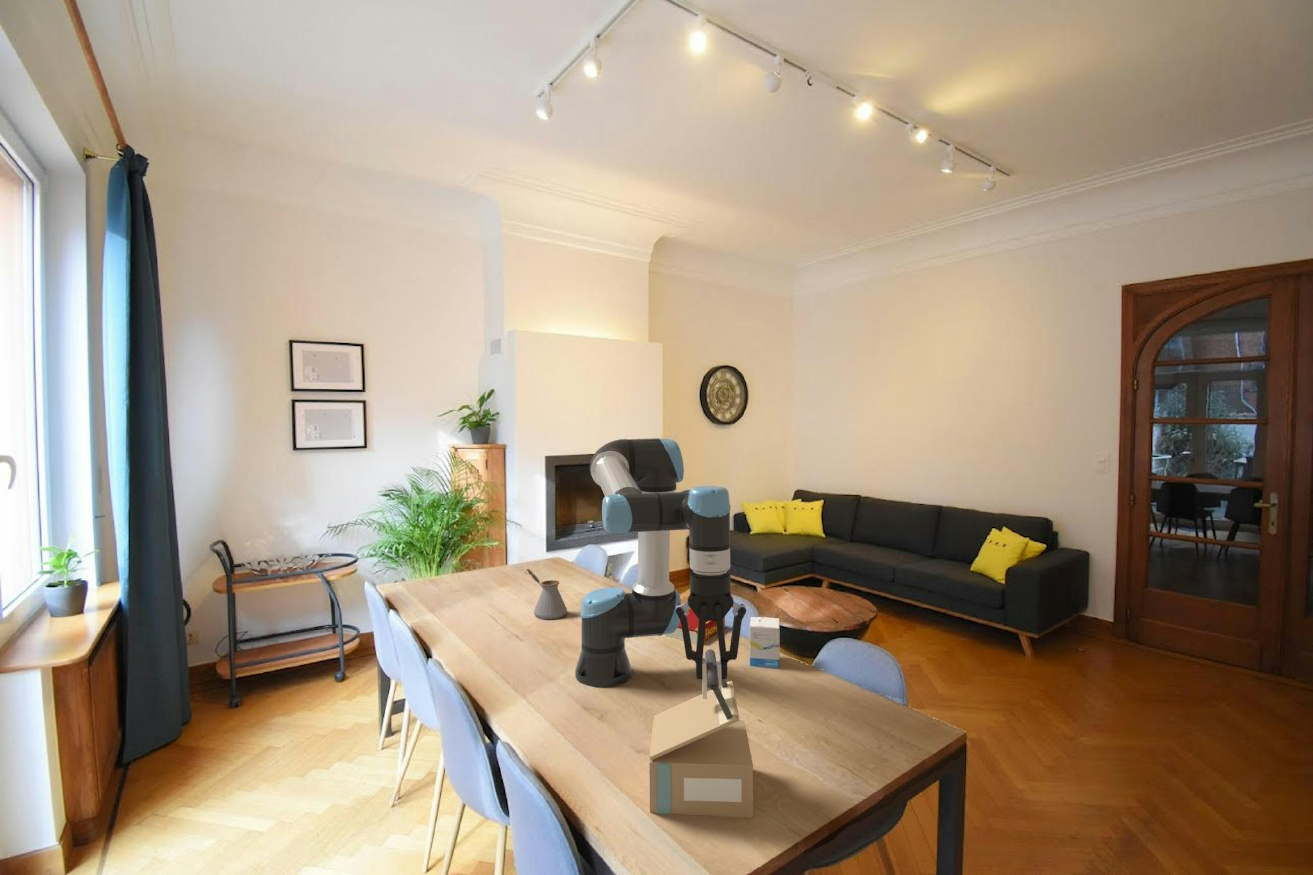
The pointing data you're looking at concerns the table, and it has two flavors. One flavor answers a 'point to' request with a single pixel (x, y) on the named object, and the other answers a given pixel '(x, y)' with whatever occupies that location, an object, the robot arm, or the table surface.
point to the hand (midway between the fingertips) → (711, 695)
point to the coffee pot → (549, 600)
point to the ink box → (764, 642)
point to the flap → (695, 715)
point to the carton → (705, 776)
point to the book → (695, 628)
